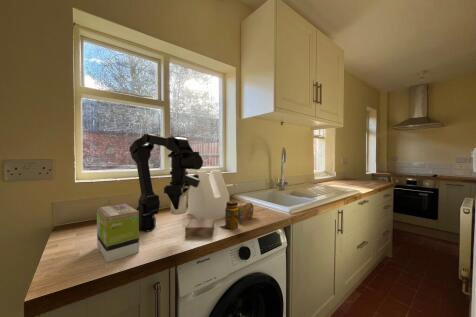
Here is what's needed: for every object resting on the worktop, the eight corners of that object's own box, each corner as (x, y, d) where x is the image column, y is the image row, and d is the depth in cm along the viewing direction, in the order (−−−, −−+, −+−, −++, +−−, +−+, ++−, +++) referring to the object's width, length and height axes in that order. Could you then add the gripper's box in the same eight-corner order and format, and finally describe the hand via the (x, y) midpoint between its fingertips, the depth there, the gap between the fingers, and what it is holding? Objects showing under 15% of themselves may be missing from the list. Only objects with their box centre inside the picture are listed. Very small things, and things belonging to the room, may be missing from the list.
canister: (168, 214, 79) (168, 195, 79) (173, 210, 85) (173, 192, 85) (184, 214, 80) (184, 195, 80) (187, 210, 86) (187, 192, 86)
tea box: (96, 247, 74) (95, 206, 74) (126, 239, 81) (126, 202, 81) (106, 263, 63) (106, 215, 63) (140, 252, 70) (140, 210, 70)
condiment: (241, 228, 95) (242, 202, 95) (226, 232, 90) (226, 205, 90) (233, 224, 101) (233, 199, 101) (218, 227, 96) (218, 201, 96)
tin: (239, 224, 101) (240, 207, 101) (234, 223, 102) (234, 206, 102) (253, 216, 113) (254, 201, 113) (248, 215, 115) (249, 200, 115)
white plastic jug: (188, 213, 119) (188, 170, 119) (210, 209, 129) (210, 169, 129) (205, 221, 104) (205, 172, 104) (229, 216, 114) (229, 171, 114)
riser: (185, 237, 84) (185, 227, 84) (190, 227, 95) (190, 219, 95) (212, 236, 85) (212, 227, 84) (213, 227, 96) (213, 219, 95)
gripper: (194, 170, 73) (194, 213, 74) (202, 167, 92) (201, 202, 92) (163, 170, 73) (163, 214, 73) (177, 167, 92) (176, 202, 92)
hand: (178, 207), depth 83 cm, fingers closed on canister, 6 cm apart
